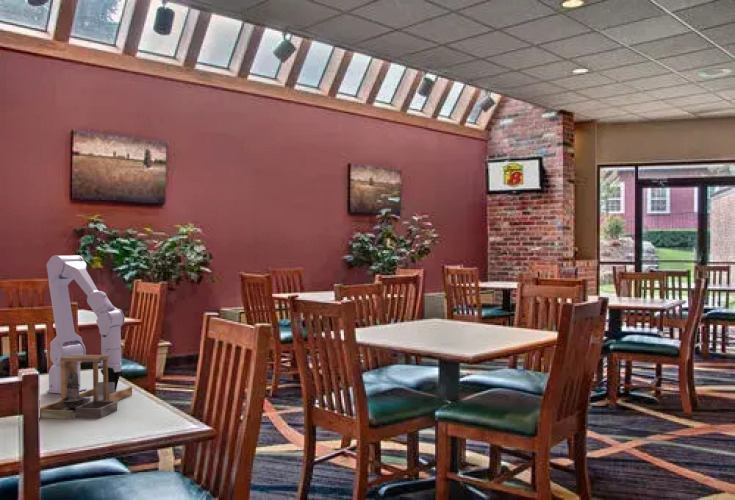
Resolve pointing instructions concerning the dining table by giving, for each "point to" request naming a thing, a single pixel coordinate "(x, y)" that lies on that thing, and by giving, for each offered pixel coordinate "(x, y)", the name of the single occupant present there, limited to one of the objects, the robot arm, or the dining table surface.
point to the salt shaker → (72, 392)
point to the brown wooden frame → (94, 407)
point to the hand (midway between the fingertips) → (111, 391)
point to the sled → (101, 392)
